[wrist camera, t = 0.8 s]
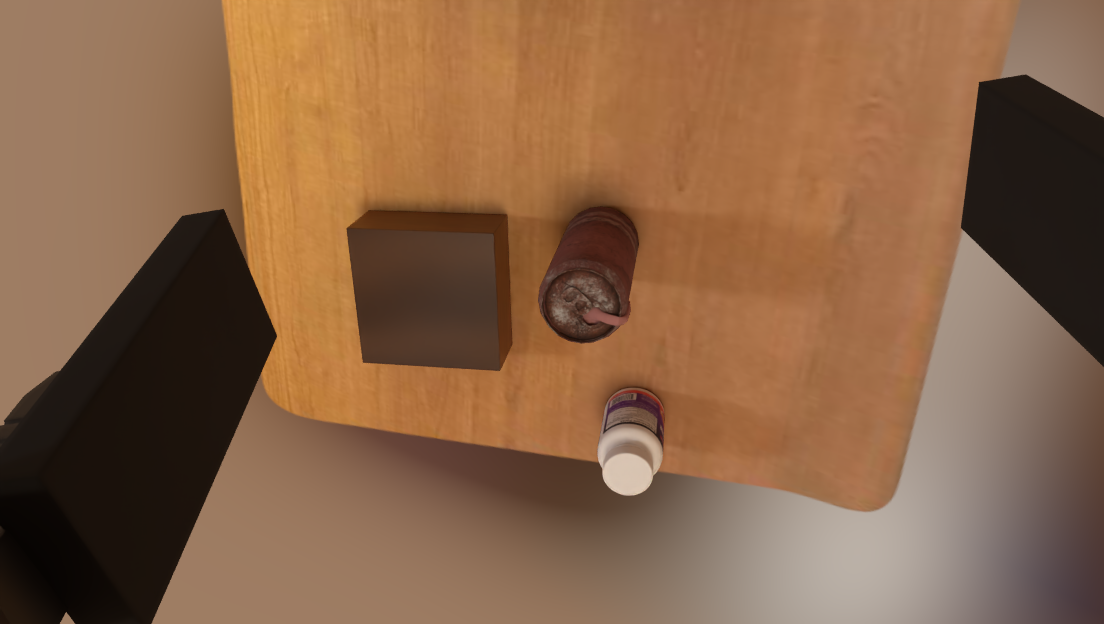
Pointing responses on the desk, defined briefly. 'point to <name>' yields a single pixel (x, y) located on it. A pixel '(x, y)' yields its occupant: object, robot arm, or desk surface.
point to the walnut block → (432, 288)
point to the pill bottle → (631, 440)
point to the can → (590, 276)
